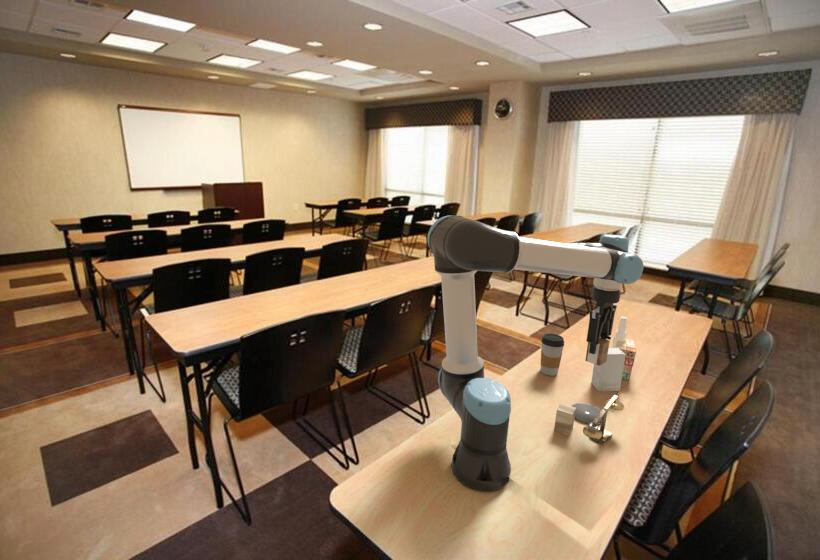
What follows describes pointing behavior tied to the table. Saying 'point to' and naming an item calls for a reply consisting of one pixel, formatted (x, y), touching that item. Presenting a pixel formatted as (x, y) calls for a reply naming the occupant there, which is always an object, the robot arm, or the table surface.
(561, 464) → the table surface
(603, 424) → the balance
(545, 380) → the table surface
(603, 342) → the walnut block
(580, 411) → the plate
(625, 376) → the stack of blocks
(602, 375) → the skincare box
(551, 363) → the coffee cup
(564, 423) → the maple block
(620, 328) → the cosmetic bottle
